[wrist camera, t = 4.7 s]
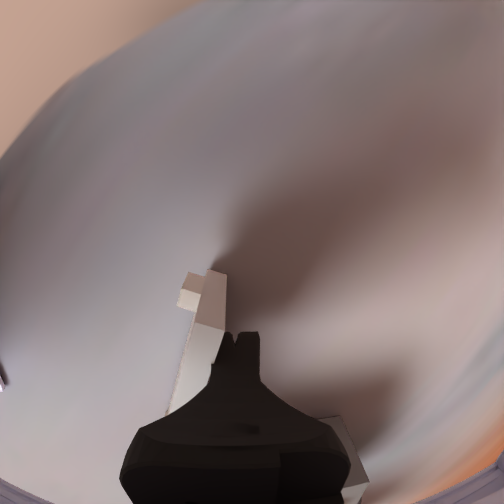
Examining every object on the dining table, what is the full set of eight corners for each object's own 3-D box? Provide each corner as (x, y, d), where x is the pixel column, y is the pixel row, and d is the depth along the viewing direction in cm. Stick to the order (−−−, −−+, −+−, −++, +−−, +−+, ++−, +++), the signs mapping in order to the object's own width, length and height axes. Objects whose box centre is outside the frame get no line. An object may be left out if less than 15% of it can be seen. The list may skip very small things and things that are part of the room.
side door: (182, 423, 14) (171, 497, 9) (155, 415, 14) (136, 487, 9) (230, 269, 12) (231, 328, 7) (194, 258, 12) (171, 311, 7)
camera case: (193, 486, 15) (189, 553, 10) (176, 422, 14) (162, 510, 8) (333, 476, 16) (353, 538, 10) (353, 411, 14) (391, 487, 9)
